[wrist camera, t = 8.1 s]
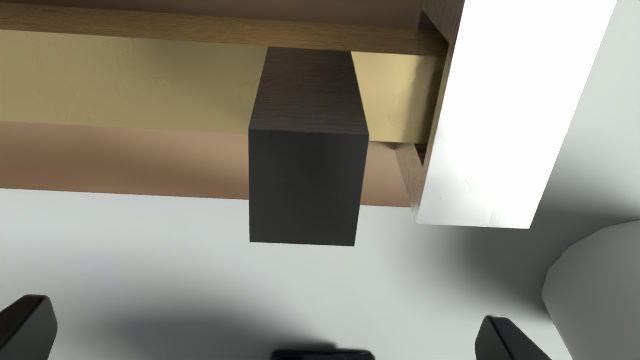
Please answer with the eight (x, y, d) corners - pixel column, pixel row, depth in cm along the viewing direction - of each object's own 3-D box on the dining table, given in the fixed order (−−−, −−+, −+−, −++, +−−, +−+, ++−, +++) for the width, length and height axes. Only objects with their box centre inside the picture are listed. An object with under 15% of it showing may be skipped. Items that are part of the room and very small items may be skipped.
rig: (484, 155, 21) (529, 228, 17) (-299, 114, 20) (-474, 183, 15) (541, -43, 17) (621, -13, 13) (-455, -116, 15) (-761, -111, 11)
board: (482, 198, 24) (488, 210, 23) (-247, 164, 22) (-269, 175, 21) (586, -142, 16) (601, -143, 15) (-508, -235, 15) (-558, -241, 14)
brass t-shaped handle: (470, 110, 19) (566, 255, 12) (-126, 76, 18) (-417, 213, 11) (490, 34, 17) (615, 148, 10) (-165, -9, 16) (-536, 86, 9)
